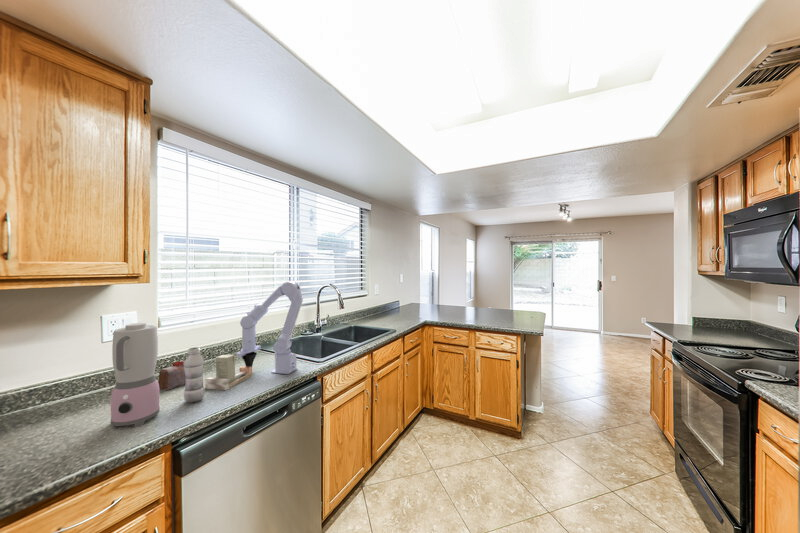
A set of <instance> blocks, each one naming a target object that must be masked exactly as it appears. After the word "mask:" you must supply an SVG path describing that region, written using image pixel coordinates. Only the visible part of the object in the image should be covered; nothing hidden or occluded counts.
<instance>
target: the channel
mask: <svg viewBox="0 0 800 533" xmlns="http://www.w3.org/2000/svg"><path fill="white" fill-rule="evenodd" d="M251 377H252V373H251V374H250V373H249V374H247V375H242V376H240V377H238V378H236V379H235V381H233V382H231V383H229V379H223V378H216V377H206V378H205V385H204V389H210V390H221V391H226V390H228V388H229V389H231V388H233V387H234V386H236V385H238V384H240V383H243V382H244V381H246V380H248V379H250V378H251ZM232 386H233V387H232ZM230 387H231V388H230Z"/></svg>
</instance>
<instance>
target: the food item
mask: <svg viewBox="0 0 800 533" xmlns="http://www.w3.org/2000/svg"><path fill="white" fill-rule="evenodd" d="M158 373H159V374H158V380H157V381H158V384H159V390H165V391H168V390H171V389H174V388H176V387H179V386H185V384H186V377H185V370H184V361H182V360H181V361H175V362H173V363H172V365H171V366H168V367H165V368H161V369H160V370H159V372H158Z"/></svg>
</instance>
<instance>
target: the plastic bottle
mask: <svg viewBox="0 0 800 533" xmlns="http://www.w3.org/2000/svg"><path fill="white" fill-rule="evenodd" d="M187 351H188V352H187V355H188V356H187V357H186V358H185V360H184V361H183V362H184V370H185V377H186V384H185V385H184V392H183V399H184V400H183V401H185V402H186V403H189V404H190V403H196V402H199V401H202V400H203V398H204V397H205V386H204V381H203V379H204V378H203V376H204V375H203V373H204V365H205V360H204V358H203V356H202V355H201V347H198V346H196V347H190V348H188V349H187Z"/></svg>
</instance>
